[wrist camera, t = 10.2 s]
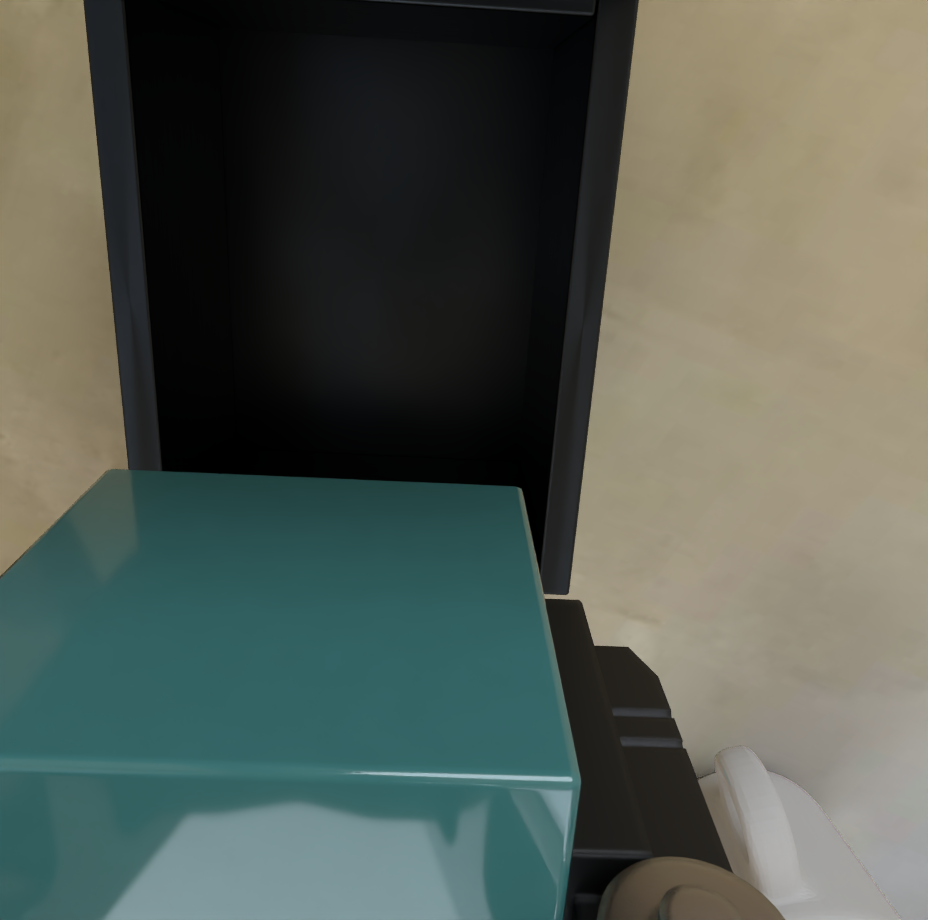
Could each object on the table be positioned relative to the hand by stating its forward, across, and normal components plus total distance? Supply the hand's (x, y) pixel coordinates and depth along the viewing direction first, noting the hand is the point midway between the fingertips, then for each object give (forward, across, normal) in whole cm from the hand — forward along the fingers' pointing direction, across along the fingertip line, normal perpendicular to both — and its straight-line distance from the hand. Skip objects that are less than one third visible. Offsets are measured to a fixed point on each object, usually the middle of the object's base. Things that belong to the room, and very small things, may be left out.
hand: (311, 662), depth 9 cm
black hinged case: (+18, 0, -2) cm, 18 cm away
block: (0, 0, 0) cm, 0 cm away
